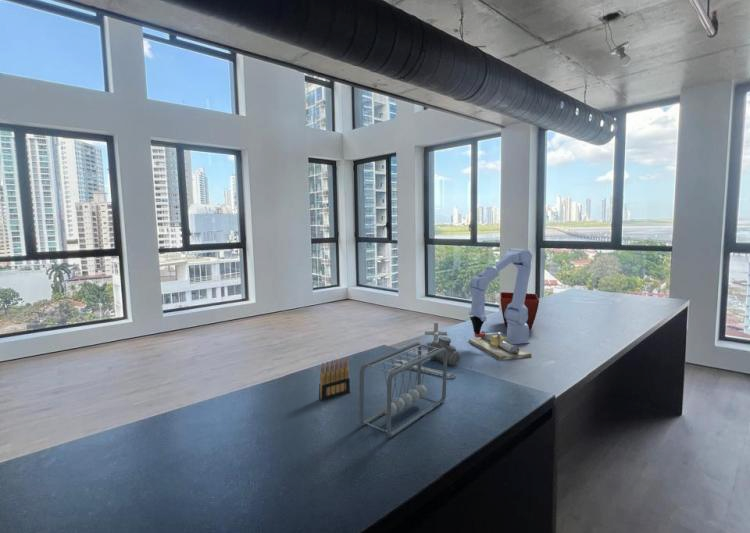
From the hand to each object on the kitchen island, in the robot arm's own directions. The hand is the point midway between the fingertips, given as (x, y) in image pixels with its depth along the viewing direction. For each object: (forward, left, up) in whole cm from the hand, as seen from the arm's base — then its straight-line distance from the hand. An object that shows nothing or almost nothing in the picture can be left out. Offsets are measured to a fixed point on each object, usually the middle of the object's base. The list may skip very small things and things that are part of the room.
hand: (476, 332), depth 182 cm
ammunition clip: (+71, +35, -7) cm, 79 cm away
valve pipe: (-8, +5, -7) cm, 11 cm away
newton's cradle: (+53, +52, -7) cm, 74 cm away
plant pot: (-41, -28, -7) cm, 50 cm away
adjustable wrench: (+35, +22, -7) cm, 42 cm away
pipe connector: (+16, -9, -7) cm, 20 cm away
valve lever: (-3, +5, 0) cm, 6 cm away
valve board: (-8, +5, -7) cm, 11 cm away
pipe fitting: (+23, +15, -7) cm, 28 cm away
